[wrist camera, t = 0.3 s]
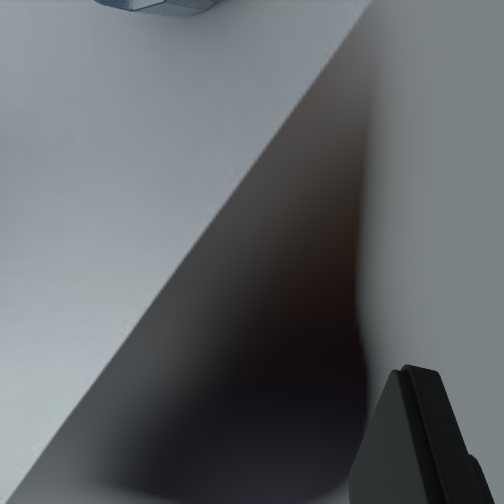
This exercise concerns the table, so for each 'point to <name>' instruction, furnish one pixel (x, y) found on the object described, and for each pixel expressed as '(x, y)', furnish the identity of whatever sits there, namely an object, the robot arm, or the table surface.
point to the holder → (161, 6)
